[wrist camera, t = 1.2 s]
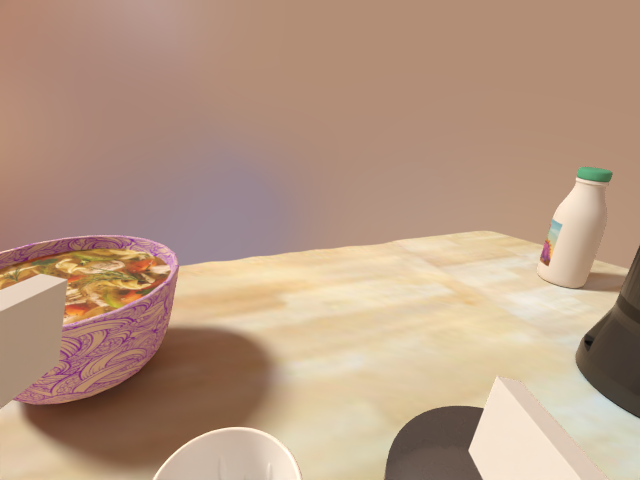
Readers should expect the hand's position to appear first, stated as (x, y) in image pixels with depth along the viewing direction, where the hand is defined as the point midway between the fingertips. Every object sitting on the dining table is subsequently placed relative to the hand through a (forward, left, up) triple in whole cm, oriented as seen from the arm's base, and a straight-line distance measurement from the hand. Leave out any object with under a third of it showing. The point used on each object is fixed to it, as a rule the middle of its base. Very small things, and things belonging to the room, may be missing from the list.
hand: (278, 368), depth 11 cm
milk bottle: (-56, -40, -22) cm, 72 cm away
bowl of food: (+17, -27, -22) cm, 39 cm away
